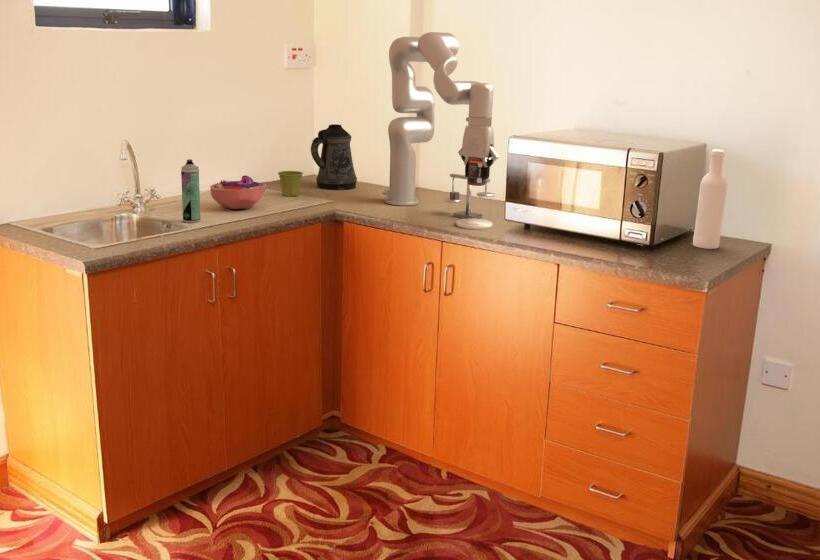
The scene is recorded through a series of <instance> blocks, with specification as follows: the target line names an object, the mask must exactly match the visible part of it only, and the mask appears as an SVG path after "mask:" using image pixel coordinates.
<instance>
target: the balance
mask: <svg viewBox="0 0 820 560" xmlns="http://www.w3.org/2000/svg"><path fill="white" fill-rule="evenodd" d="M449 178H452V179H451V180H452V181H451V183H452V185H451V186H452V187H451V191H450V192H449V197H445V198H443V202H446V203H453V204H454V203H456V204H457V203H461V202H462V199H461V198H460V192H459V191H454V190H455V189H454V188H455V178H456V179H462V180H466V195H465V196H466V197H465V198H466V199H465V210H461V211H456V212H453V216H452V217H455V218H460V219H467V218H474V219H482V218H483V214H482V213H479V212H478V213H477V212H472V211H471V205H472V204H471V203H472V186H473V185H469V184H468V177H465V174H458V173H450V174H449ZM489 183H491V179H490V178H488V179H486V182H485V185H484V191H481V192H479V191H478V192H477V193H476V196H477V197H482V198H492V197H495V193H493V192H488V190H487V188H488V184H489Z"/></svg>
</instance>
